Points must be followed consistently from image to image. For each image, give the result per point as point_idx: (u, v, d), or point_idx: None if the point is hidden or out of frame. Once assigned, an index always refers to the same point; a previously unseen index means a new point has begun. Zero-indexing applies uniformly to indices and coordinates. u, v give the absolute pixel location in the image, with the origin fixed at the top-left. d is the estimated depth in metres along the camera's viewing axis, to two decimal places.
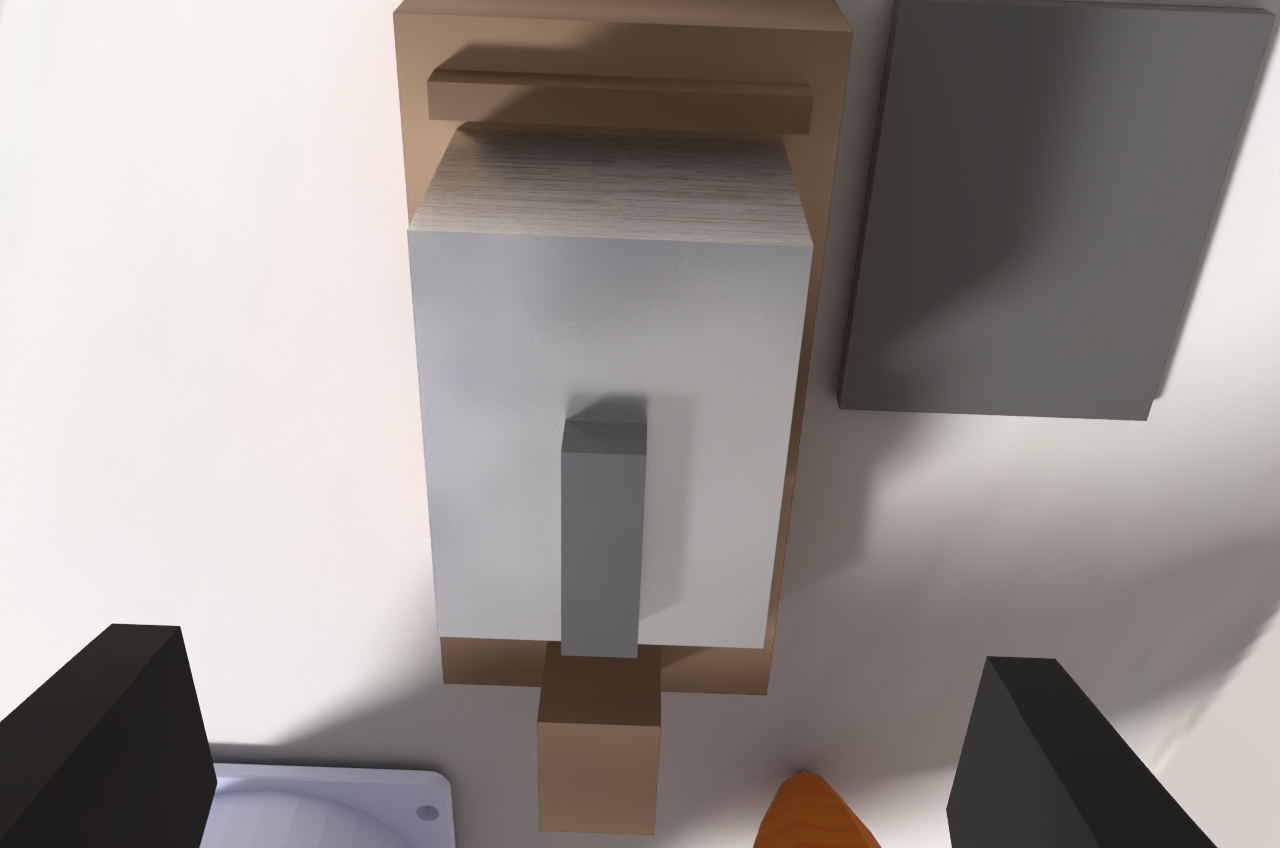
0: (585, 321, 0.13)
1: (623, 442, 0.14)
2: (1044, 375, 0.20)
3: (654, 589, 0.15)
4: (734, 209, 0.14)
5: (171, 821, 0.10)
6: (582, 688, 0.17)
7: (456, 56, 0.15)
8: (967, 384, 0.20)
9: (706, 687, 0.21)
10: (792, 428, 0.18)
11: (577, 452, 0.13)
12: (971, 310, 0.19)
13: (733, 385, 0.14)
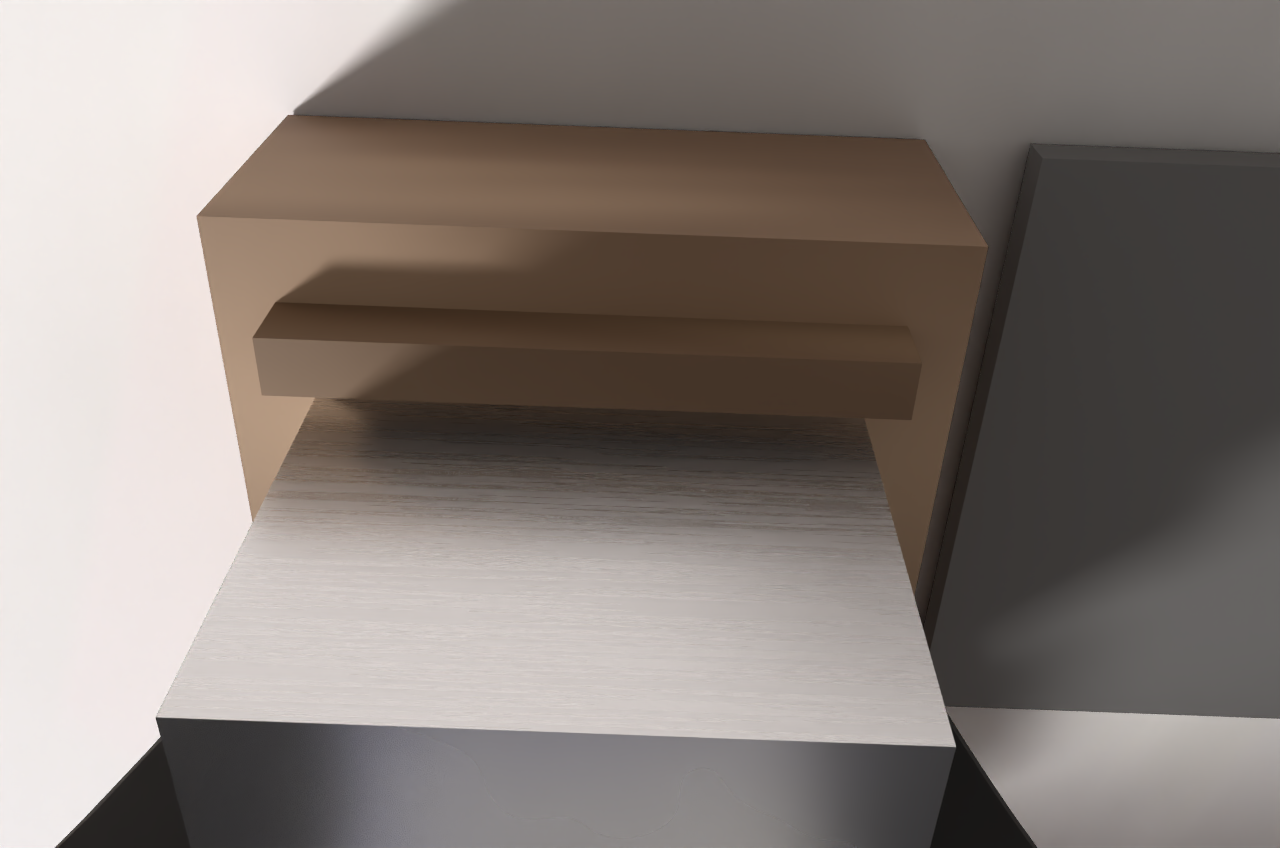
0: None
1: None
2: (1218, 665, 0.14)
3: None
4: (794, 622, 0.07)
5: None
6: None
7: (310, 283, 0.09)
8: (1104, 675, 0.14)
9: None
10: None
11: None
12: (1118, 583, 0.13)
13: None
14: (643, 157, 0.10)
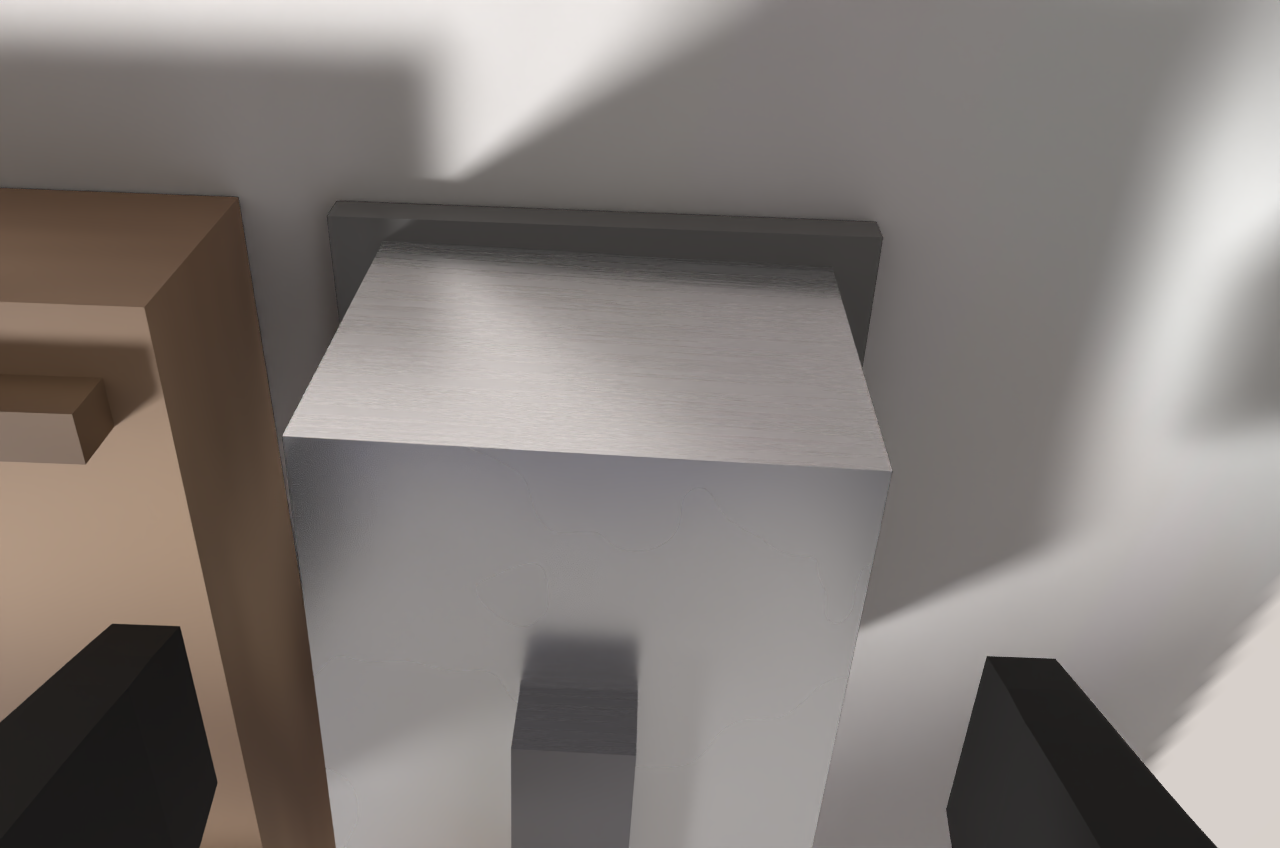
0: (550, 561, 0.09)
1: (603, 729, 0.09)
2: None
3: None
4: (771, 394, 0.09)
5: (171, 821, 0.10)
6: None
7: None
8: None
9: None
10: (239, 800, 0.13)
11: (535, 747, 0.09)
12: None
13: (763, 647, 0.09)
14: None
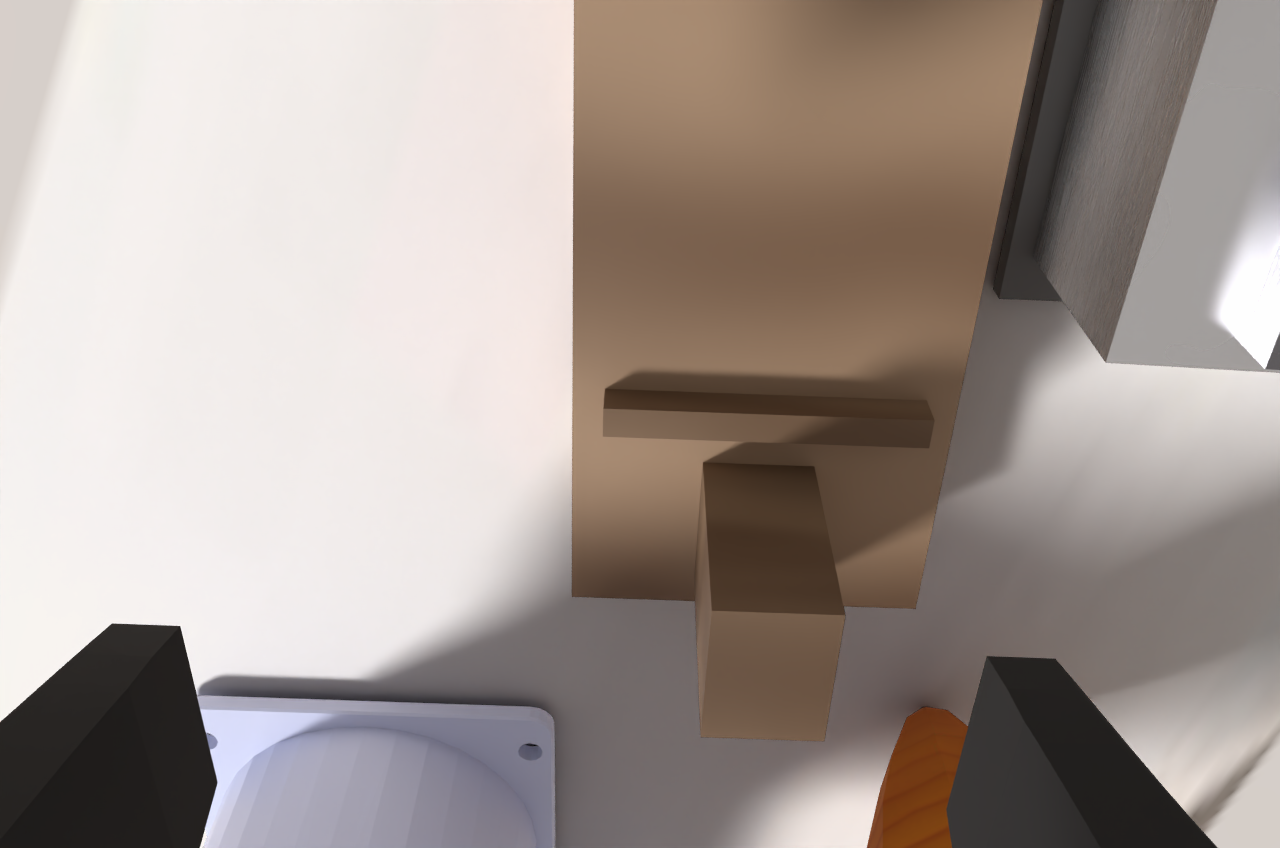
0: None
1: None
2: None
3: None
4: None
5: (171, 821, 0.10)
6: (753, 577, 0.16)
7: None
8: None
9: (852, 600, 0.20)
10: (970, 304, 0.17)
11: None
12: None
13: None
14: None
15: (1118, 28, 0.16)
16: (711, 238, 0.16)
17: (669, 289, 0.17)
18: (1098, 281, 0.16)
